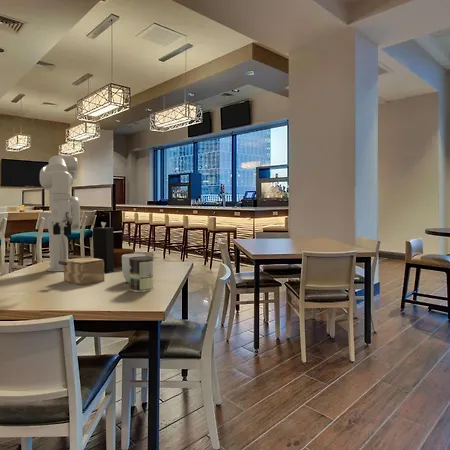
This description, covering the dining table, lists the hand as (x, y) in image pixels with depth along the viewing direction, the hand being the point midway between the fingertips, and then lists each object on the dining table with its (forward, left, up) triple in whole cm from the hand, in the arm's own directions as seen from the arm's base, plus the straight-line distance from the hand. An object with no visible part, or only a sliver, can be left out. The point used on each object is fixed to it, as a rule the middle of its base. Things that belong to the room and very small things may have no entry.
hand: (62, 234), depth 166 cm
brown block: (-20, +46, -24) cm, 55 cm away
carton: (0, +11, -24) cm, 26 cm away
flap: (0, +8, -14) cm, 16 cm away
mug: (+21, +26, -24) cm, 41 cm away
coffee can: (+36, +17, -24) cm, 46 cm away
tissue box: (-13, +31, -24) cm, 41 cm away
